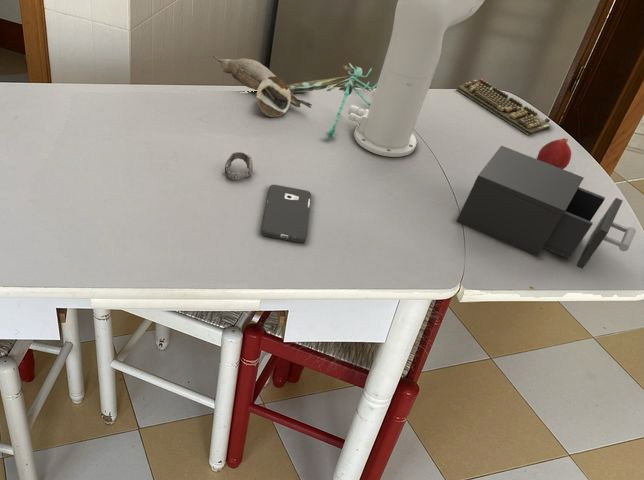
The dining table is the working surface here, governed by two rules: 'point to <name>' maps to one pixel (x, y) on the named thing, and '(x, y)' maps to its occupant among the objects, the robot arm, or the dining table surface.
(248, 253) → the dining table surface
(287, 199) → the cell phone
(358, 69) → the insect sculpture
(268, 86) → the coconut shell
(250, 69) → the bird model
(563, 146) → the onion
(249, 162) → the wristwatch
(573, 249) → the drawer
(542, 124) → the keyboard
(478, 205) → the dark grey box
